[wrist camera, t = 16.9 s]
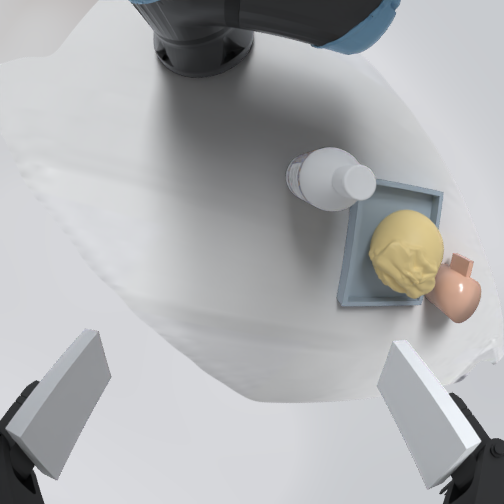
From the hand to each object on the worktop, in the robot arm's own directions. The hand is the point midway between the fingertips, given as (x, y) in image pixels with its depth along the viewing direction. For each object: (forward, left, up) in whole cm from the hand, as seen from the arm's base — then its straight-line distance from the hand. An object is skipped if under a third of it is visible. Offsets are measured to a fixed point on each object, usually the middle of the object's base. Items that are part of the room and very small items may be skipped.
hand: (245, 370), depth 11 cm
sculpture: (+1, +23, -31) cm, 39 cm away
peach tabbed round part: (+7, +37, -32) cm, 49 cm away
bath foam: (-8, +8, -32) cm, 34 cm away
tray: (+1, +23, -32) cm, 39 cm away
